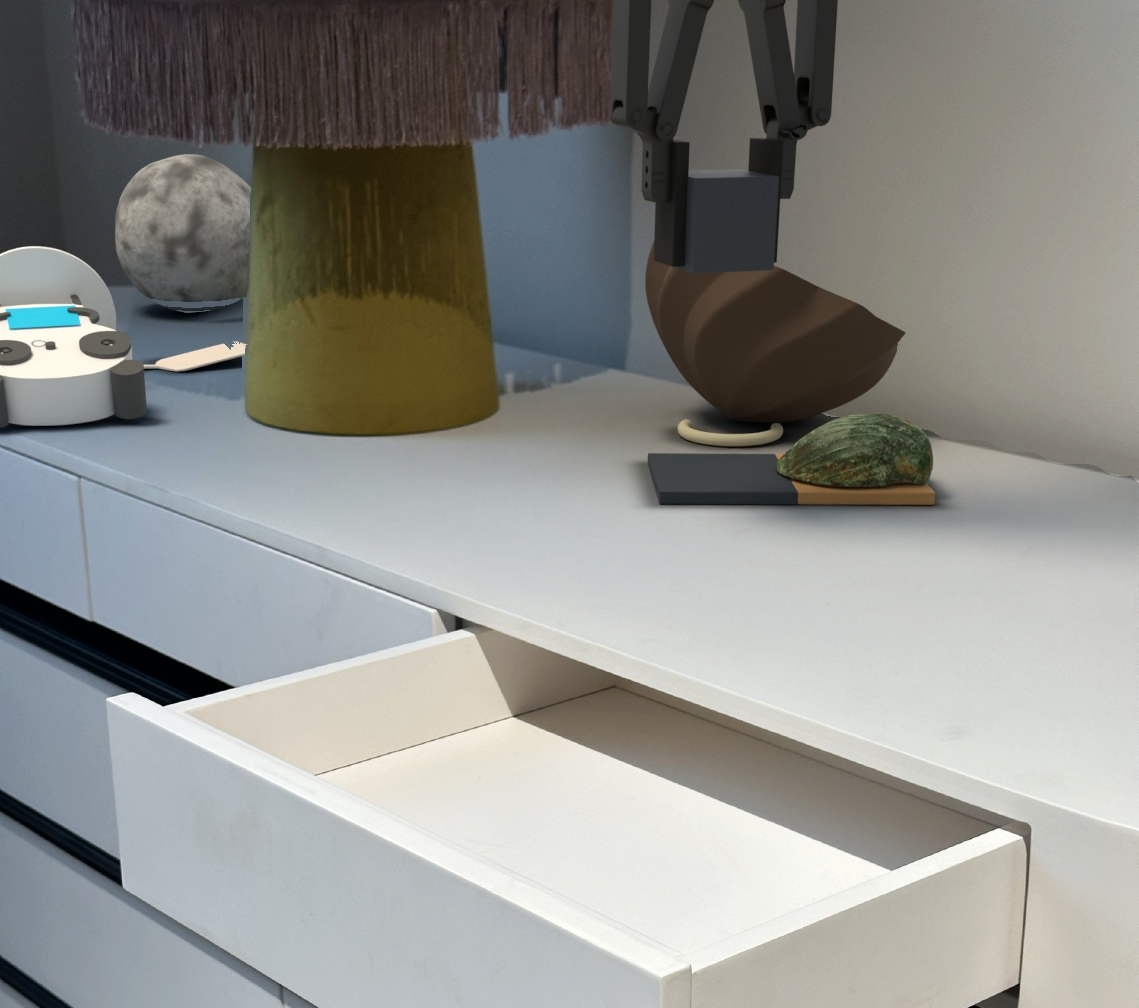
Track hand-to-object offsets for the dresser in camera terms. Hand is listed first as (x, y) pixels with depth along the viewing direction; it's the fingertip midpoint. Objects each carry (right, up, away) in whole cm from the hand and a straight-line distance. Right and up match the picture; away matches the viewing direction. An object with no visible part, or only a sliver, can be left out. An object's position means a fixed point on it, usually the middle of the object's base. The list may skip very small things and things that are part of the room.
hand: (715, 260), depth 96 cm
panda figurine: (-49, +6, +34) cm, 60 cm away
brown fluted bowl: (+7, +6, +26) cm, 27 cm away
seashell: (+10, -10, +12) cm, 19 cm away
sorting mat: (+6, -11, +12) cm, 17 cm away
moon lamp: (-48, +20, +63) cm, 81 cm away
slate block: (0, 0, 0) cm, 0 cm away
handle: (+3, -6, +21) cm, 22 cm away
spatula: (-49, +3, +42) cm, 64 cm away
